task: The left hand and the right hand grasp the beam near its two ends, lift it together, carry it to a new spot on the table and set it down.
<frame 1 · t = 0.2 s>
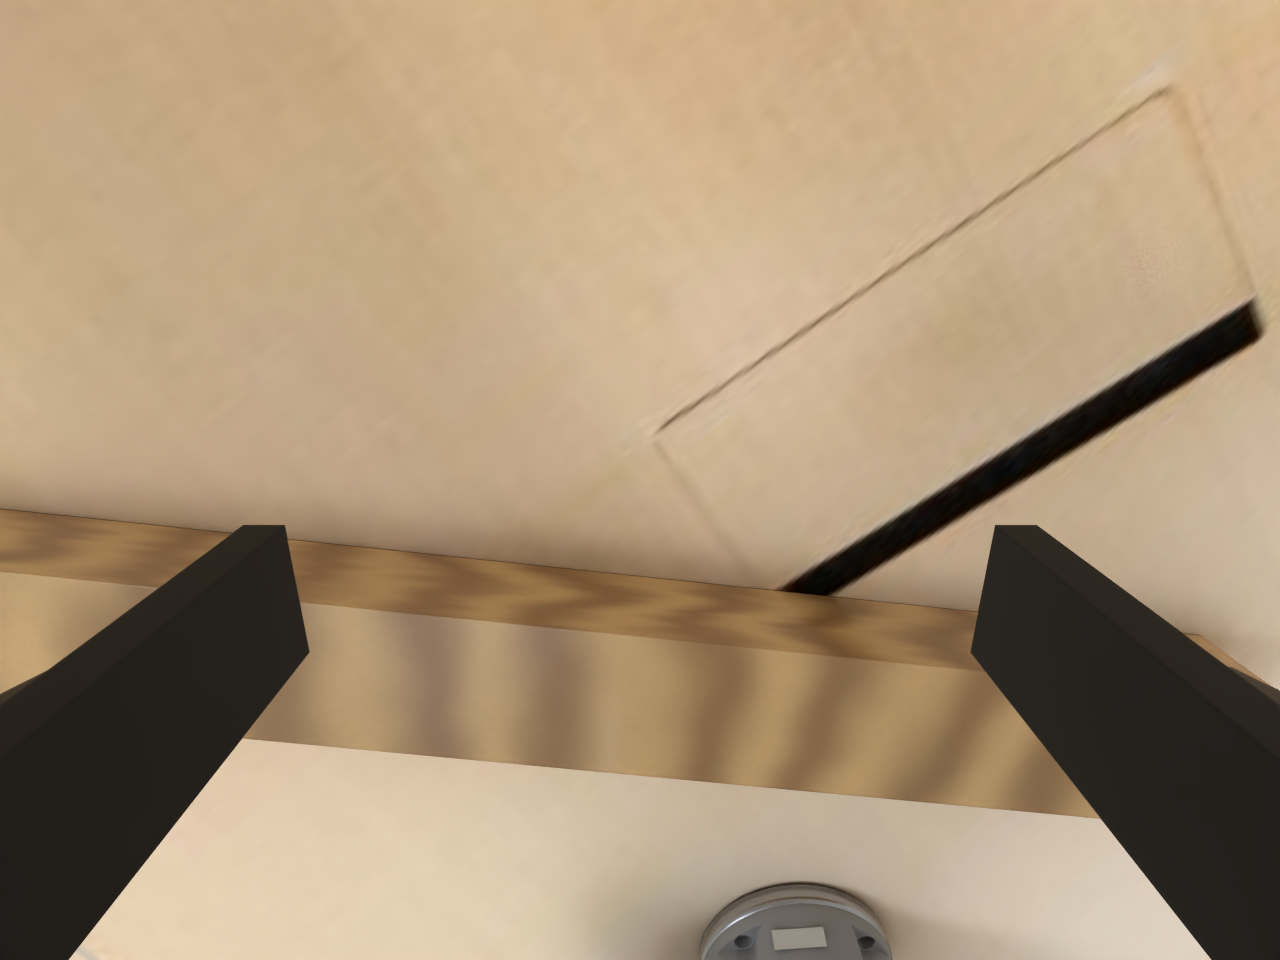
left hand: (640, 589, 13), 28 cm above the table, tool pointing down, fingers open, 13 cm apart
beam: (571, 633, 45), on the table
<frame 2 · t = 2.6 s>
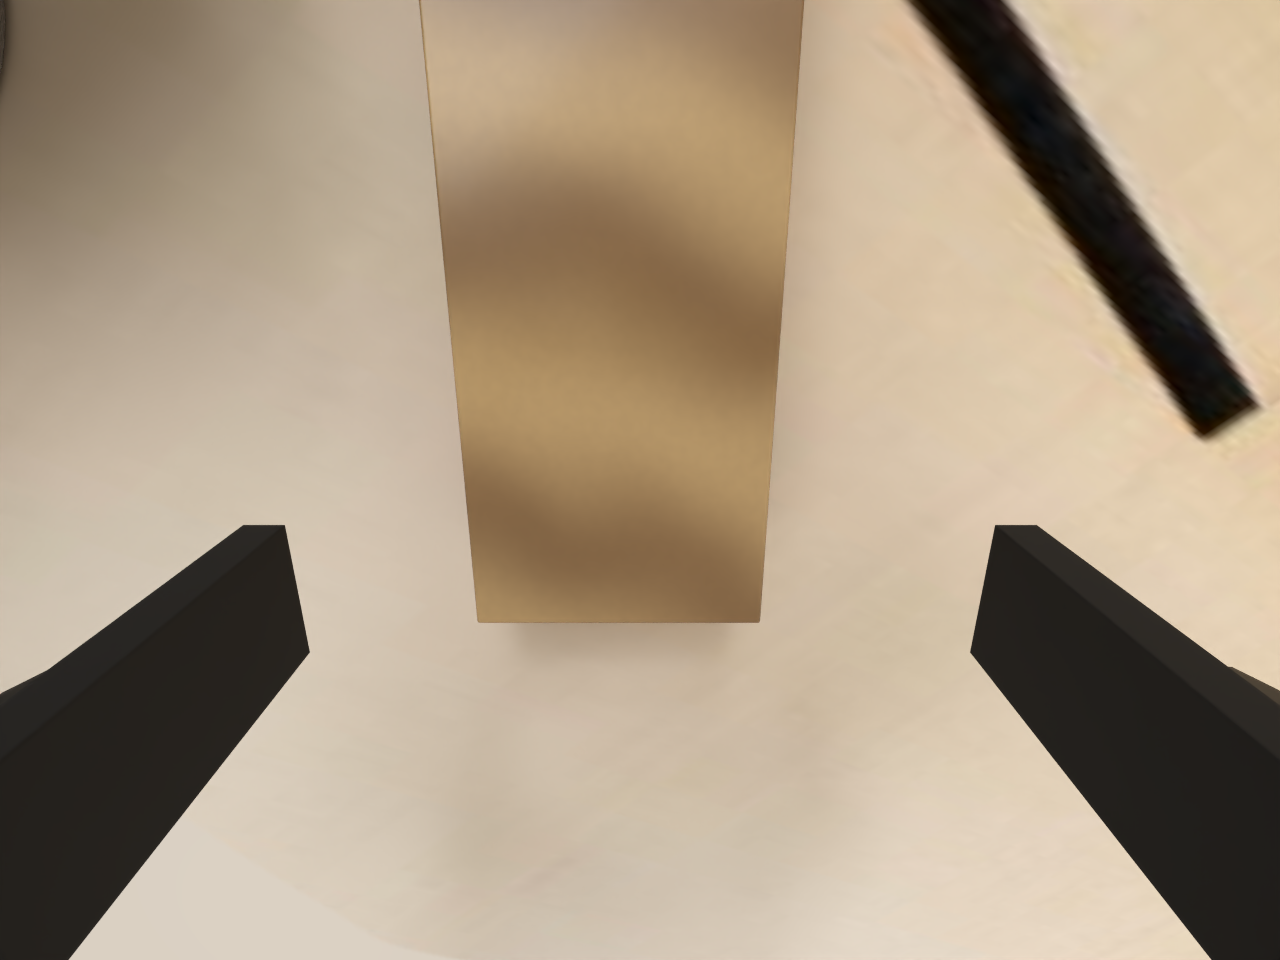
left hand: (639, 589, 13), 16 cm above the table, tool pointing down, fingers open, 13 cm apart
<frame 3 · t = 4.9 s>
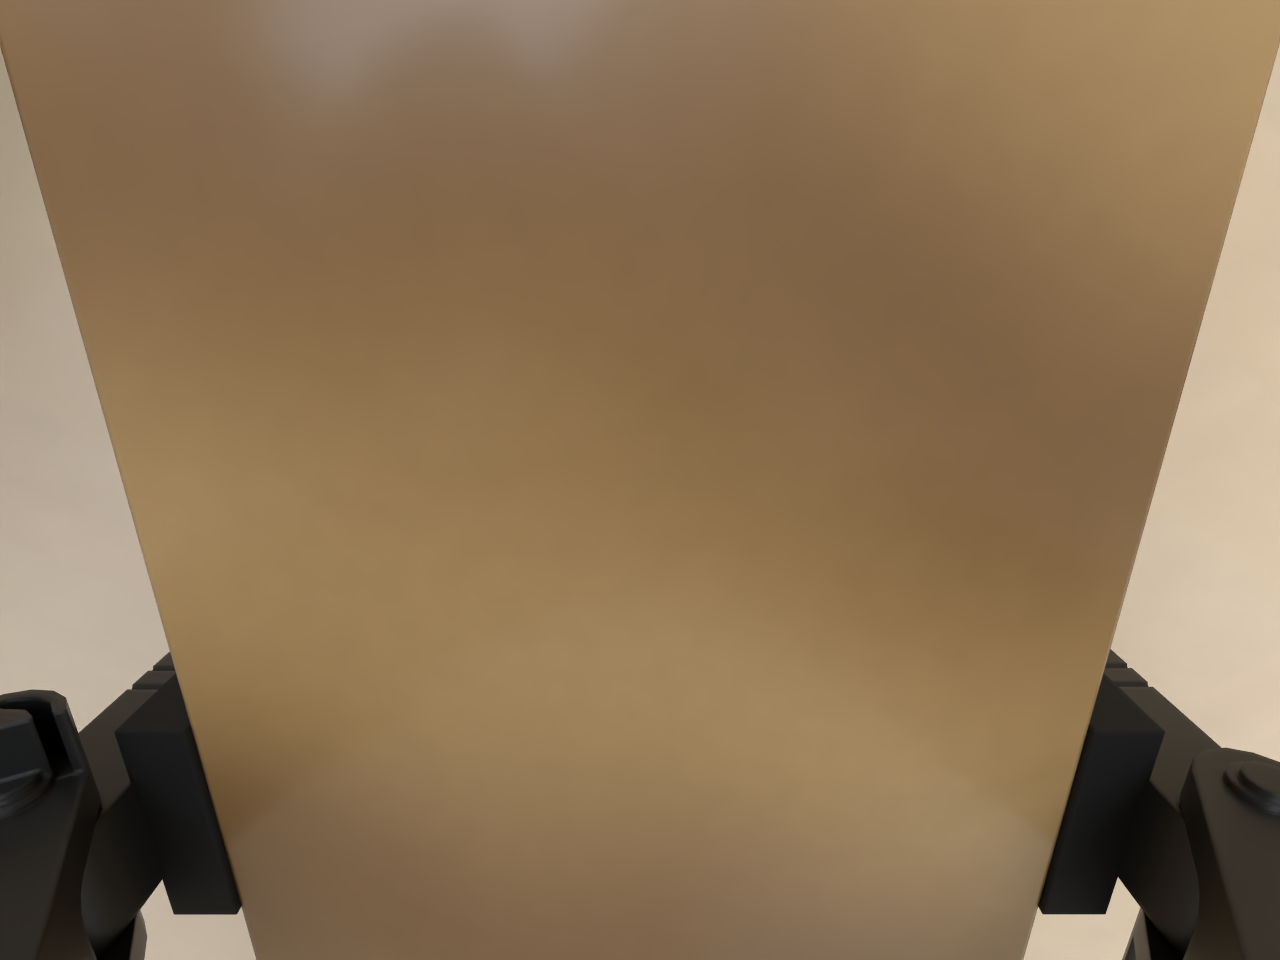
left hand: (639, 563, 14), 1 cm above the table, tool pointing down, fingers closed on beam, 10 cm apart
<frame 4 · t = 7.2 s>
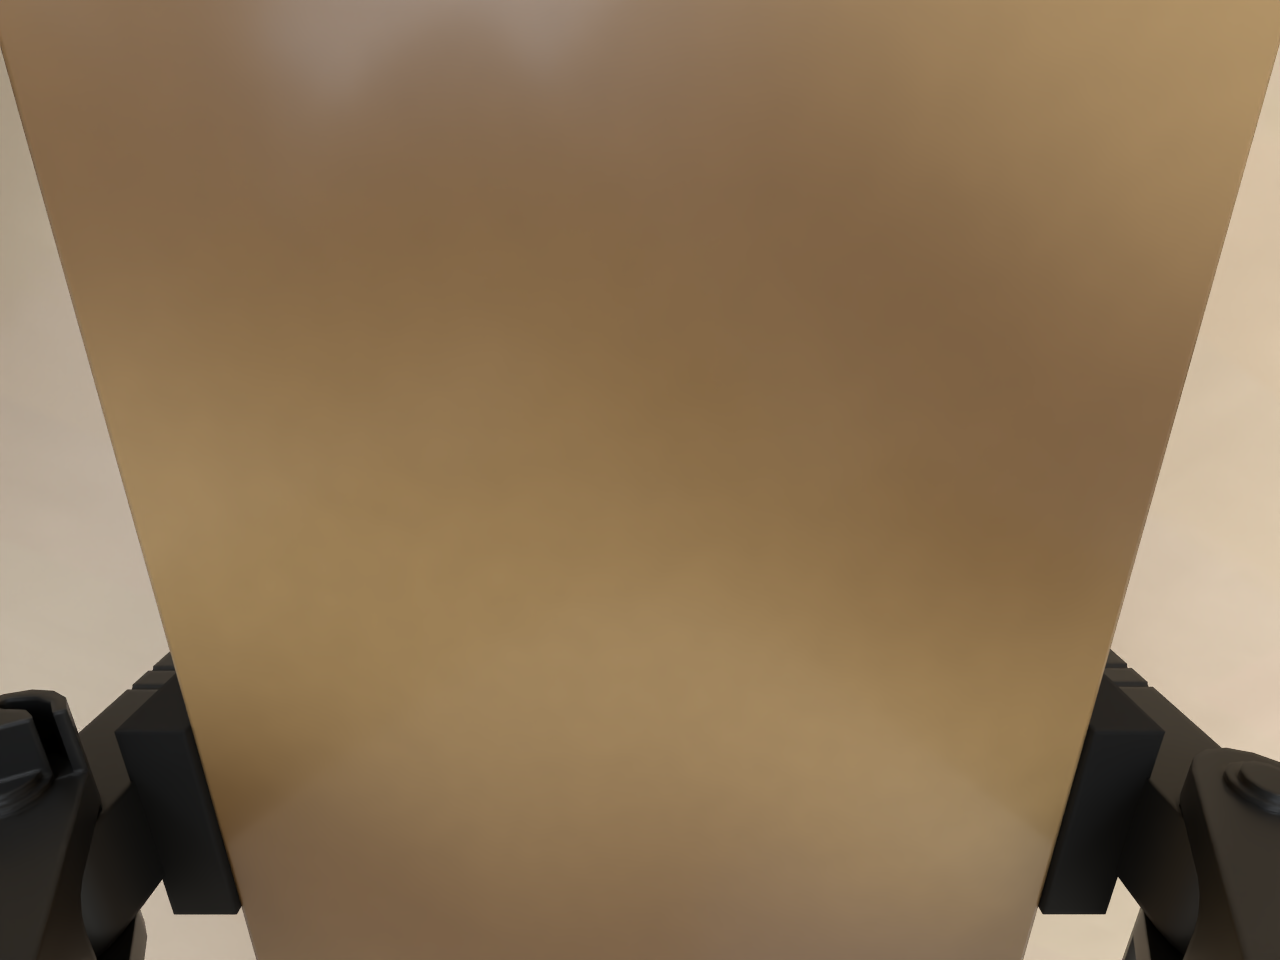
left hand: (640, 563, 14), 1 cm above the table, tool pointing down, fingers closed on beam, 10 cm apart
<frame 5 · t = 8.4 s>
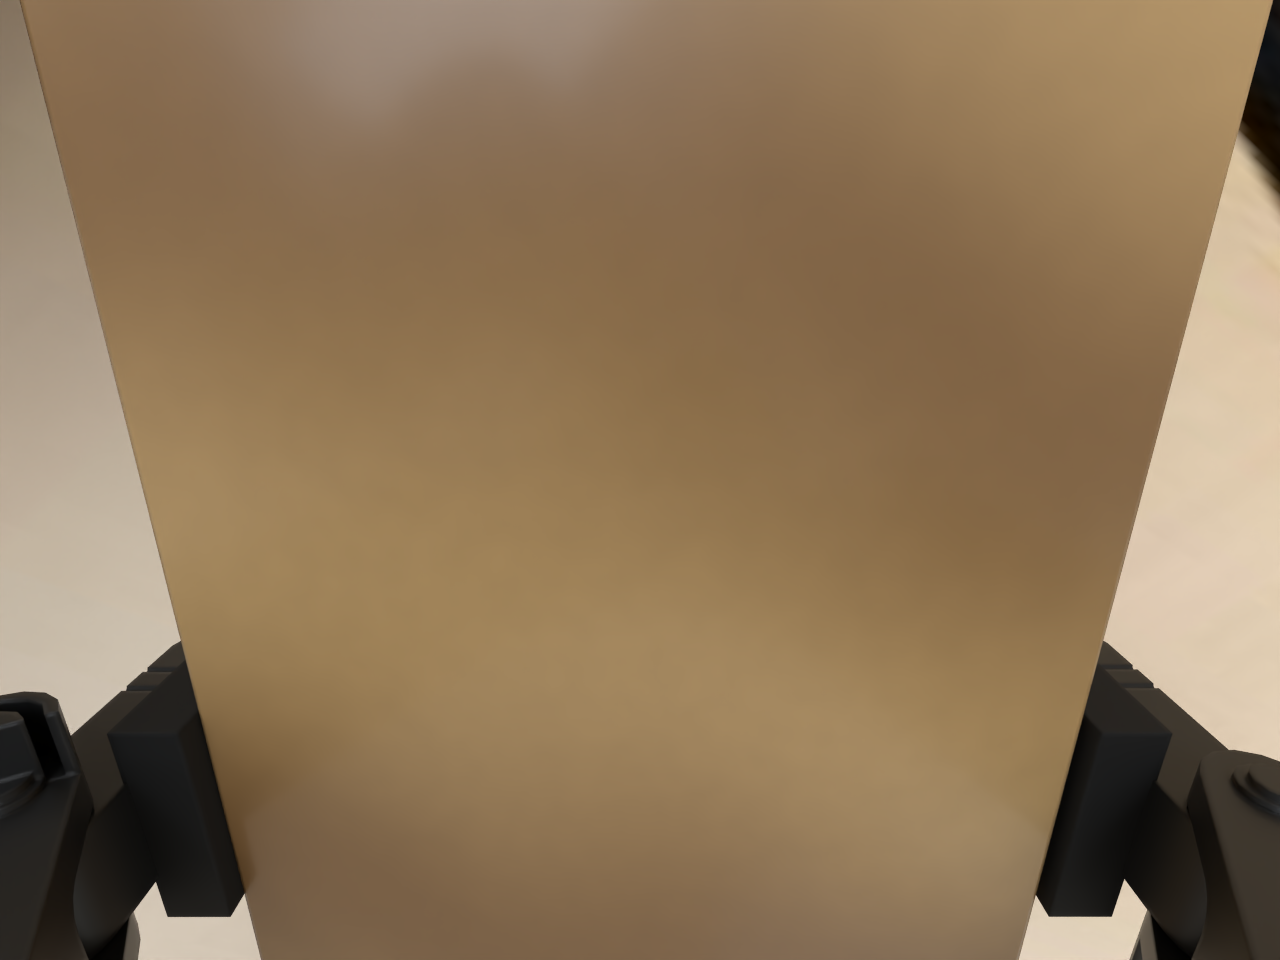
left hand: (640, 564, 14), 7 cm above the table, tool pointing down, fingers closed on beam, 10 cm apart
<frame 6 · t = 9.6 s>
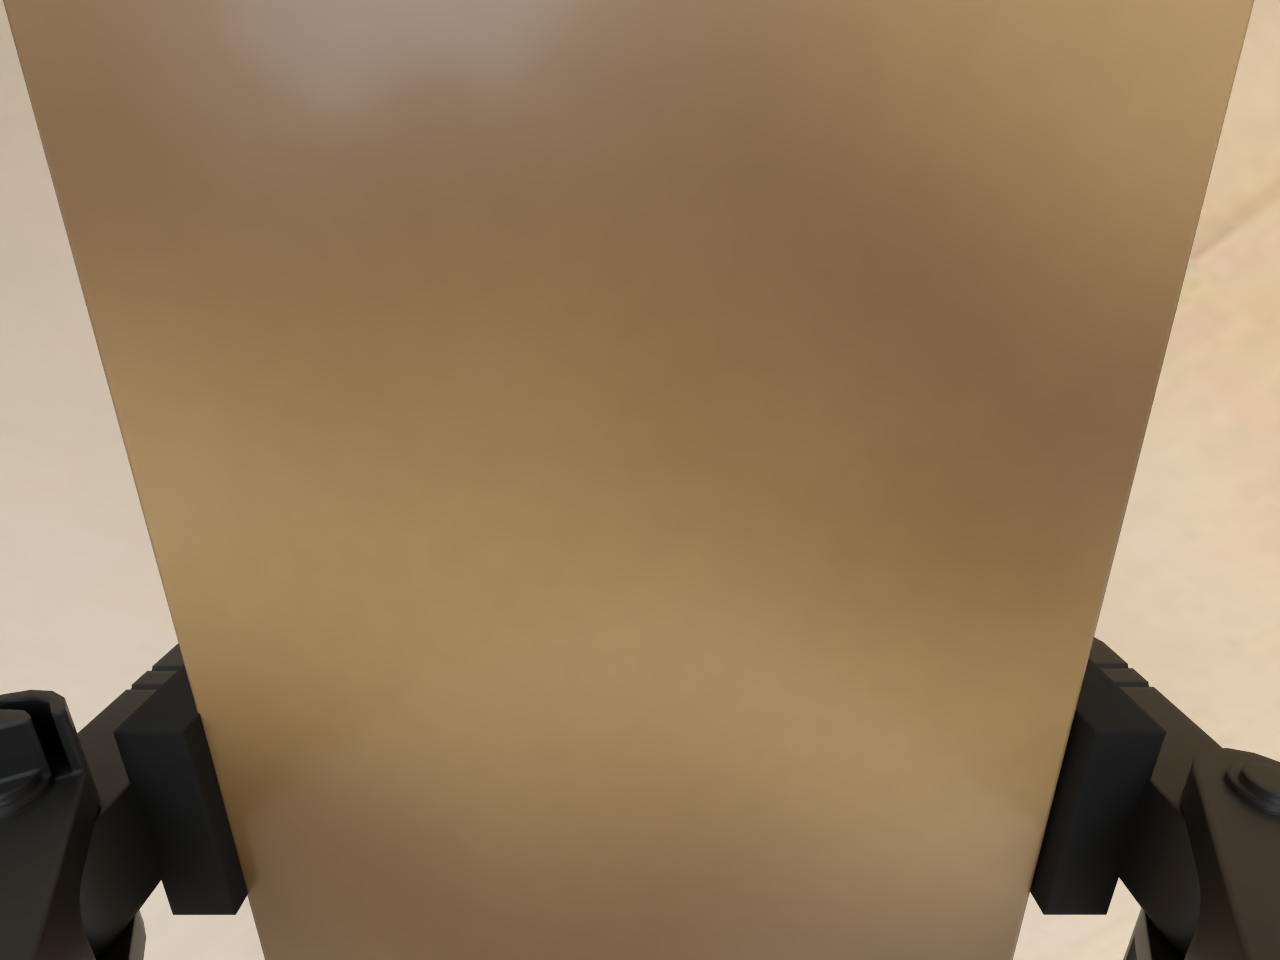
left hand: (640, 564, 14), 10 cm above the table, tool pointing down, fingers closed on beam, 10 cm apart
when the left hand's fingers open (2 cm above the table, at t = 12.0 s): beam drops 1 cm, on the table.
when the right hand's fingers open (2 cm above the table, at t = 12.0 s): beam drops 1 cm, on the table.
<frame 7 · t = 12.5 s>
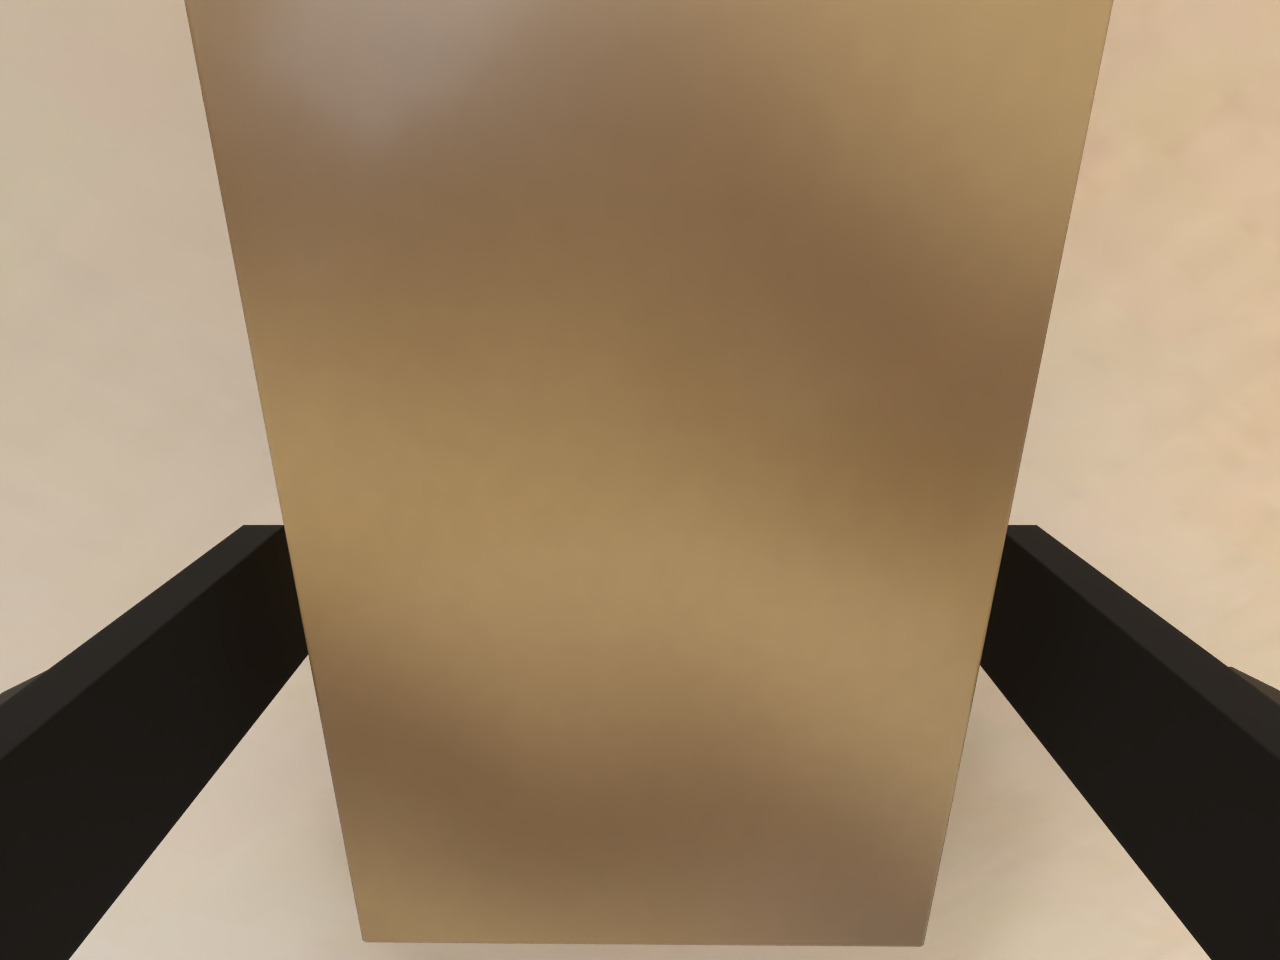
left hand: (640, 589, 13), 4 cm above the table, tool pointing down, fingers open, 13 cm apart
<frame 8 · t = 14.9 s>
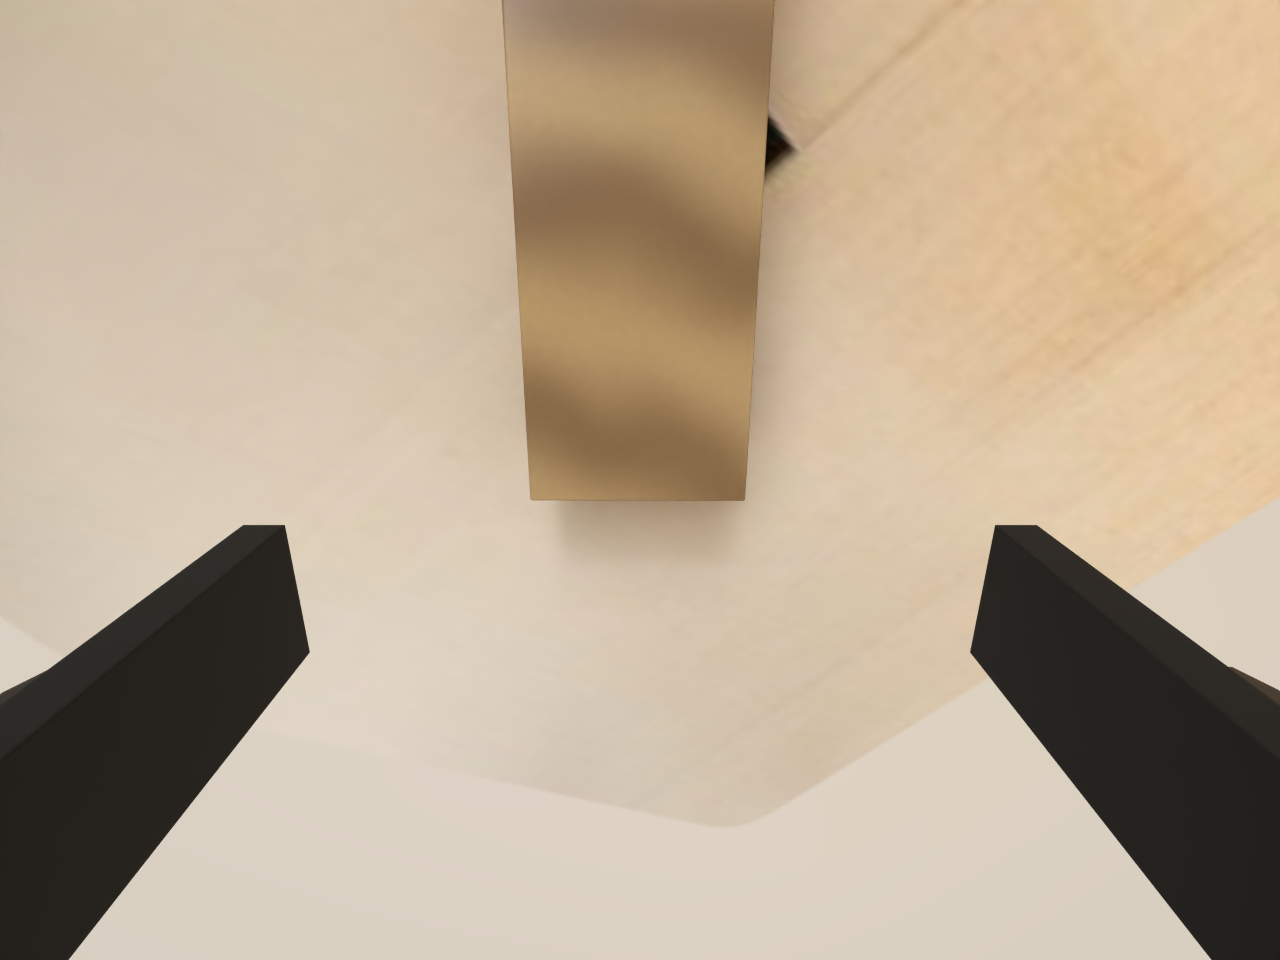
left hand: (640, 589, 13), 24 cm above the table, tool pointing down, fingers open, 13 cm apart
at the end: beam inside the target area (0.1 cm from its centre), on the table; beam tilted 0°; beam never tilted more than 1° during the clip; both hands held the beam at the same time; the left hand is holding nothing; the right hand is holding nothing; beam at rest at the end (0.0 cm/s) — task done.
